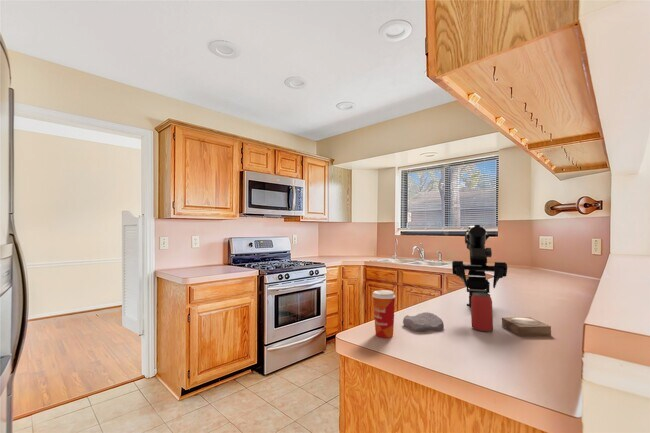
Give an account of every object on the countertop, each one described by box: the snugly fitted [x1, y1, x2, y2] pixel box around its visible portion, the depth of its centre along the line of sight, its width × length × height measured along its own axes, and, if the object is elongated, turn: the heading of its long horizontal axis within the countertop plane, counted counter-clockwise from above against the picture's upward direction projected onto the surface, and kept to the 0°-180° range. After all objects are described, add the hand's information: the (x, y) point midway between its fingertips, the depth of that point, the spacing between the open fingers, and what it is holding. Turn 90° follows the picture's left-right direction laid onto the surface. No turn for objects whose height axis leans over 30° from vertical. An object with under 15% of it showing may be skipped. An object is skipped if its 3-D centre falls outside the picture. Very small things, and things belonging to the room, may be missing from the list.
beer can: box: [470, 292, 494, 333], centre depth 107 cm, size 7×7×12 cm
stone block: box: [402, 311, 445, 332], centre depth 109 cm, size 12×5×10 cm
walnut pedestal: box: [501, 316, 552, 337], centre depth 104 cm, size 10×10×3 cm
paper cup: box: [371, 289, 396, 339], centre depth 102 cm, size 8×8×14 cm
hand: (479, 286), depth 114 cm, fingers open, 9 cm apart
